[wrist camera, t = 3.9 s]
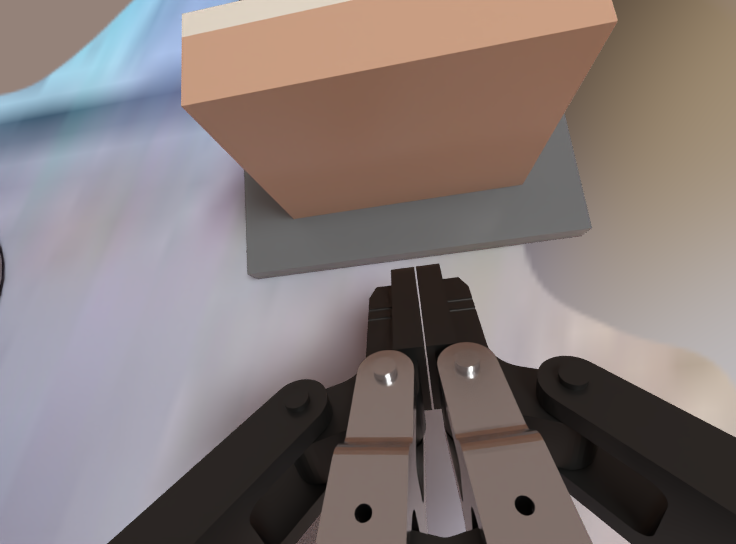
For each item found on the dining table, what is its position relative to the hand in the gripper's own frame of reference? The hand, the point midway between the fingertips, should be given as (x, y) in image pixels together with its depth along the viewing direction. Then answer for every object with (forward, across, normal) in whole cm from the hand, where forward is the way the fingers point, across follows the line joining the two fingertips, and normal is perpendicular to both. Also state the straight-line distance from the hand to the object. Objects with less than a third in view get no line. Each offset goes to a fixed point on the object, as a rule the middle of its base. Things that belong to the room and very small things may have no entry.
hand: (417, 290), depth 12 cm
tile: (+8, 0, -1) cm, 8 cm away
